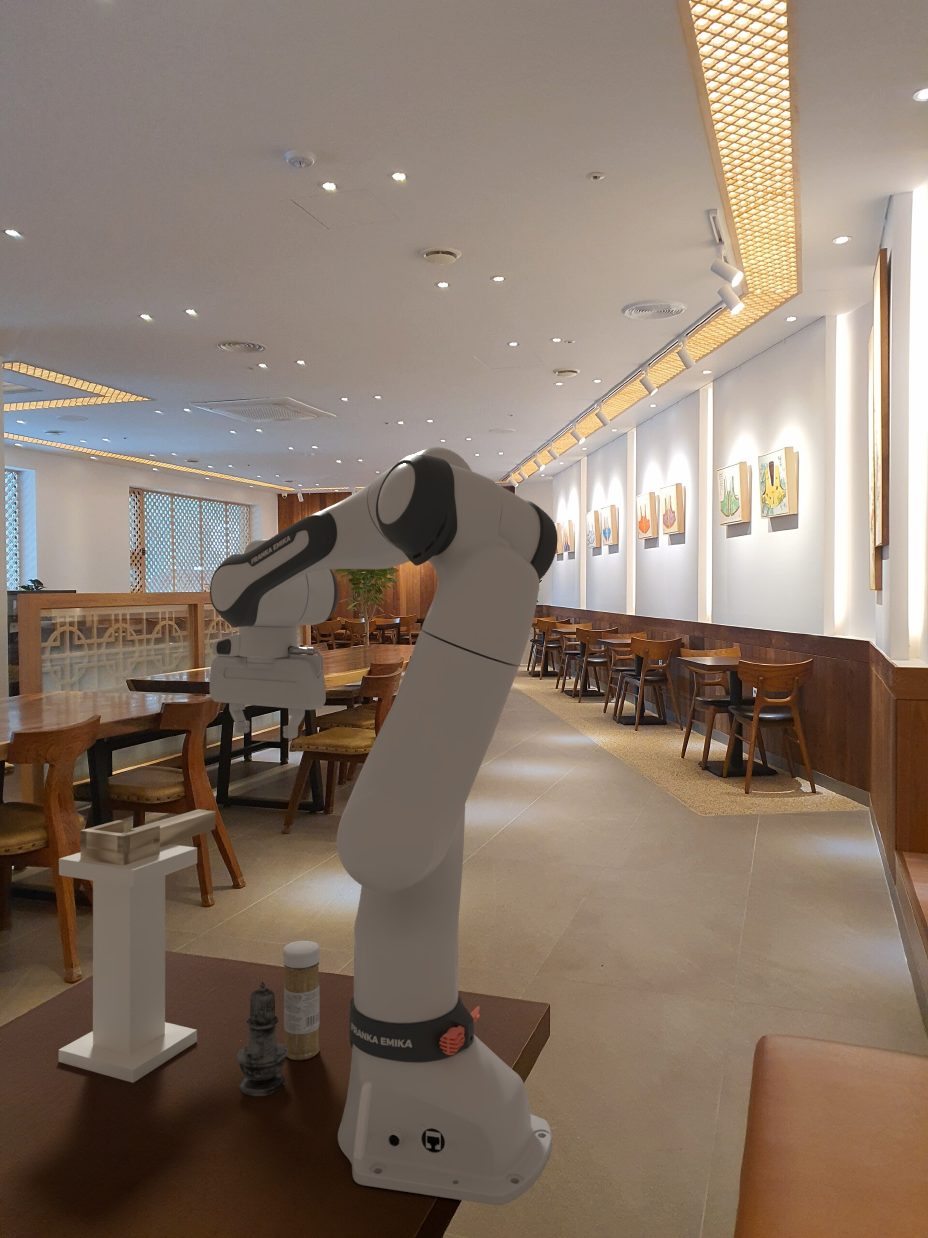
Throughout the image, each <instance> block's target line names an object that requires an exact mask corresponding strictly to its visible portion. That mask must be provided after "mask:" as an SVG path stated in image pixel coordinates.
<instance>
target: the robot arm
mask: <svg viewBox="0 0 928 1238" xmlns="http://www.w3.org/2000/svg"><path fill="white" fill-rule="evenodd" d="M558 541H559V539H558V530H557V526H556V524H555V522H554V520H553V519H552V518H551V517H550V516H549V514H547V512H545V511H544V509H542V508H541V507H540V506H538V505H537V504H536V503H534V502H532V501H530V500H528V499H523V498H521V497H520V496H519V495H517V494H515V493H514V492H512V491H510V490H508V489H507V488H505V487H503V486H501V485H499V484H497V483H496V482H495V481H494V480H493V479H490V478H489V477H487V476H485V475H482V474H480V473H477V472H474V471H473V470H472V469H471V467H470V465H469V464H468V463H467V462H466V460H465V459H464V458H462V456H460V455H459V454H458V453H456V452H454V451H453V450H451V449H448V448H445V447H439V446H435V447H434V446H433V447H428V448H425V449H423V450H421V451H420V450H419V451H418V452H416V453H413V454H410V455H407V456H405V457H404V458H402V459H401V460H399V461H398V462H397V463H395V464H394V465H392V466H391V467H389V468H388V469H387V470H385V471H383V473H381V474H380V475H378V476H377V477H376V478H375V479H374V480H372V481H371V482H370V483H369V484H367V485H366V486H364V487H362V488H361V489H360V490H358V491H357V492H355V493H353V494H351V495H349V496H348V497H346V498H345V499H343V500H340V501H339V502H337V503H334V504H332V505H330V506H328V507H326V508H324V509H322V510H320V511H317V512H314V513H312V514H310V515H308V516H306V517H304V518H302V519H300V520H298V521H297V522H294V523H293V524H291V525H290V526H287V527H286V528H285V529H283V530H281V531H280V532H279V533H277V534H275V535H274V536H272V537H271V538H261V539H256V540H254V541H252V542H250V543H248V544H247V545H246V546H245V548H244V551H243V553H233V554H231V555H229V556H228V557H227V558H226V559H224V560H223V561H222V562H221V563H220V564H219V566H218V567H217V568H216V570H215V571H214V572H213V574H212V577H211V580H210V584H209V597H210V598H209V599H210V602H211V606H212V607H213V608H214V610H215V611H216V613H217V614H218V615H219V616H220V617H221V618H222V619H223V620H224V622H226V623H227V624H228V625H230V626H231V627H233V628H238V632H237V633H233V634H231V635H228V636H226V637H223V638H221V639H218V640H215V641H214V642H212V645H211V651H212V654H213V655H214V656H215V657H214V658H213V660H212V661H211V663H210V665H211V666H210V668H209V669H210V671H209V695H210V697H211V698H212V699H211V700H212V701H213V702H215V703H225V704H228V705H229V707H228V709H229V712H230V716H231V717H232V719H233V721H234V733H237V734H247V733H250V730H251V729H250V725H251V723H250V721H249V720H247V719H246V717H245V714H244V711H243V710H246V705H248V706H260V707H261V706H262V707H270V708H271V707H272V708H273V707H274V708H280V709H281V708H282V709H283V708H284V709H288V716H290V720H289V722H288V725H283V726H282V732H283V733H282V737H283V738H285V739H296V738H297V737H298V736H299V726H300V724H301V723H302V721H303V720H304V717H305V715H306V714H305V713H306V711H312V710H319V709H322V708H323V706H324V705H325V703H326V702H327V701H326V700H327V699H326V698H327V695H326V691H327V689H326V680H325V679H326V678H325V673H324V656H322V653H321V652H319V651H318V650H317V649H316V648H315V647H311V646H310V647H309V646H308V647H302V646H298V626H313V625H318V624H319V625H320V624H324V623H326V621H328V620H329V619H330V618H331V617H332V616H333V614H334V612H335V611H336V609H337V606H338V603H339V597H340V595H339V594H340V591H339V588H340V587H339V583H338V580H337V577H336V574H335V572H333V570H349V569H350V570H386V569H391V568H392V569H393V568H394V567H398V566H401V565H404V564H406V563H409V562H410V563H412V564H413V565H414V566H421V565H423V564H425V563H426V562H429V563H430V565H431V566H432V567H433V568H434V571H435V574H436V578H437V584H436V585H437V586H436V590H435V593H434V596H433V599H432V602H431V604H430V606H429V608H428V611H427V613H426V616H425V619H424V621H423V623H422V626H421V628H420V631H419V634H418V636H417V639H416V642H415V645H414V647H413V650H412V653H411V655H410V659H409V661H408V664H407V665H406V669H405V670H404V671H405V672H404V674H403V677H402V679H401V682H400V685H399V687H398V689H397V693H396V695H395V698H394V700H393V702H392V705H391V707H390V709H389V711H388V713H387V715H386V717H385V719H384V721H383V724H382V725H381V727H380V729H379V731H378V733H377V736H376V737H375V739H374V742H373V744H372V746H371V748H370V751H369V753H368V754H367V757H366V759H365V762H364V764H363V766H362V769H361V770H360V773H359V775H358V777H357V779H356V781H355V784H354V787H353V789H352V792H351V794H350V796H349V798H348V801H347V803H346V806H345V808H344V810H343V812H342V815H341V817H340V820H339V824H338V828H337V833H336V850H337V854H338V858H339V860H340V863H341V864H342V866H343V868H344V869H345V871H346V873H347V874H348V875H349V876H350V877H351V879H352V880H354V881H355V882H356V883H357V884H359V885H360V886H361V889H360V894H359V901H358V907H357V908H358V909H357V913H356V917H355V920H354V925H353V926H354V927H353V996H352V998H351V999H350V1004H349V1021H348V1023H349V1027H348V1028H349V1030H348V1032H349V1033H348V1034H349V1036H348V1037H349V1042H350V1048H351V1053H352V1054H351V1064H350V1065H351V1066H350V1075H349V1082H348V1088H347V1094H346V1095H347V1096H346V1100H345V1106H344V1109H343V1114H342V1117H341V1121H340V1125H339V1128H338V1131H337V1142H338V1145H339V1148H340V1149H341V1151H342V1152H343V1154H344V1155H345V1156H346V1158H347V1159H348V1160H349V1162H350V1164H351V1172H352V1173H351V1174H352V1179H353V1180H354V1182H355V1183H357V1184H358V1185H361V1186H367V1187H374V1188H380V1189H386V1190H391V1191H392V1190H393V1191H399V1192H406V1193H407V1192H408V1193H411V1194H412V1193H414V1194H419V1195H420V1194H421V1195H425V1196H432V1197H440V1198H446V1199H453V1200H458V1201H465V1202H466V1201H467V1202H471V1203H478V1204H486V1205H492V1206H504V1205H506V1204H509V1203H511V1202H513V1201H515V1200H517V1199H518V1198H519V1197H521V1196H522V1195H524V1194H525V1193H526V1192H527V1191H528V1190H530V1188H532V1187H533V1185H534V1184H535V1183H536V1182H537V1180H538V1179H539V1178H540V1176H541V1175H542V1173H543V1171H544V1170H545V1168H546V1166H547V1164H548V1162H549V1160H550V1156H551V1155H552V1150H553V1138H552V1131H551V1130H552V1129H551V1126H550V1124H549V1122H548V1121H547V1120H546V1119H544V1118H542V1117H539V1116H537V1115H534V1114H532V1113H531V1109H530V1102H529V1097H528V1093H527V1089H526V1086H525V1084H524V1081H523V1079H522V1078H521V1076H520V1075H519V1074H518V1073H517V1072H516V1071H514V1070H513V1069H512V1068H511V1067H510V1066H509V1065H508V1064H506V1062H504V1060H503V1059H501V1058H500V1057H499V1056H498V1055H497V1054H496V1053H494V1052H493V1051H492V1050H491V1049H490V1048H489V1047H488V1046H487V1045H486V1044H485V1043H484V1042H483V1041H481V1039H479V1038H478V1037H477V1036H476V1035H475V1023H476V1022H477V1021H478V1020H479V1019H480V1016H481V1015H480V1010H481V1006H480V1005H478V1006H476V1007H475V1008H474V1009H473V1010H472V1011H471V1012H469V1010H468V1009H467V1008H466V1006H465V1004H464V1002H463V999H462V997H461V995H460V994H459V921H460V920H459V916H460V908H461V907H460V906H461V893H462V879H463V865H464V864H463V861H464V847H465V846H464V843H465V823H466V822H465V821H466V820H465V819H466V816H465V815H466V803H467V800H468V797H469V795H470V793H471V790H472V787H473V785H474V784H475V781H476V778H477V775H478V773H479V770H480V768H481V766H482V763H483V761H484V758H485V756H486V753H487V750H488V749H489V746H490V744H491V741H492V739H493V737H494V734H495V732H496V728H497V726H498V723H499V720H500V718H501V715H502V714H503V710H504V708H505V705H506V702H507V700H508V697H509V694H510V691H511V689H512V686H513V683H514V681H515V679H516V675H517V673H518V670H519V668H520V665H521V662H522V659H523V657H524V653H525V651H526V648H527V645H528V641H529V638H530V634H531V630H532V627H533V622H534V619H535V614H536V608H537V604H538V598H539V592H540V581H541V580H542V579H543V578H544V576H545V575H546V573H548V571H549V569H550V568H551V566H552V564H553V561H554V559H555V557H556V553H557V548H558Z"/></svg>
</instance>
